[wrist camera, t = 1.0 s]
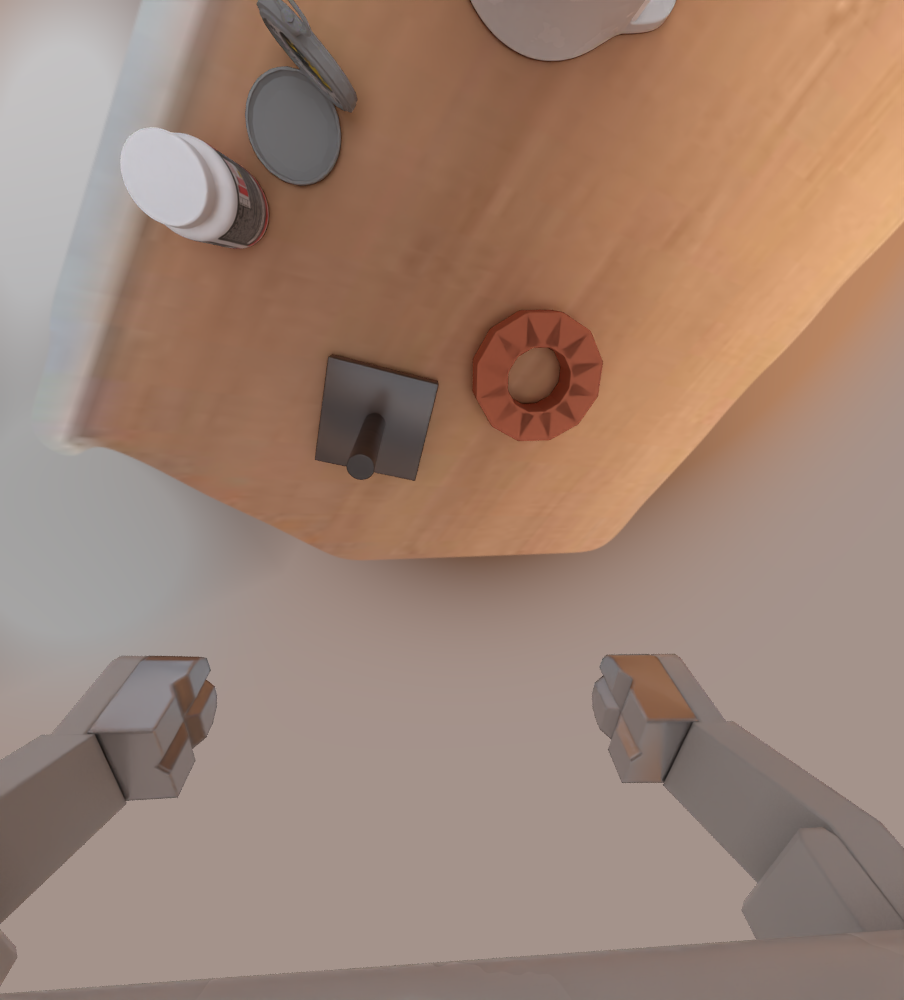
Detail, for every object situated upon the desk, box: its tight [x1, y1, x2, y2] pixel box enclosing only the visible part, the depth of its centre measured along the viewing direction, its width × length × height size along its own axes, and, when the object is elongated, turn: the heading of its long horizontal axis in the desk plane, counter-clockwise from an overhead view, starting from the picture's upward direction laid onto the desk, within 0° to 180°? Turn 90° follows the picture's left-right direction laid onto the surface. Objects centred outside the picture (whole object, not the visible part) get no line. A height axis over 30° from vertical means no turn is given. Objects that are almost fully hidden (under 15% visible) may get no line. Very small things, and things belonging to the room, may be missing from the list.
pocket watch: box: [245, 0, 357, 186], centre depth 27 cm, size 8×8×10 cm
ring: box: [472, 310, 603, 441], centre depth 39 cm, size 11×11×3 cm
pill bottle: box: [120, 127, 269, 249], centre depth 29 cm, size 6×6×10 cm
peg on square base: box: [315, 354, 438, 481], centre depth 36 cm, size 10×10×12 cm
